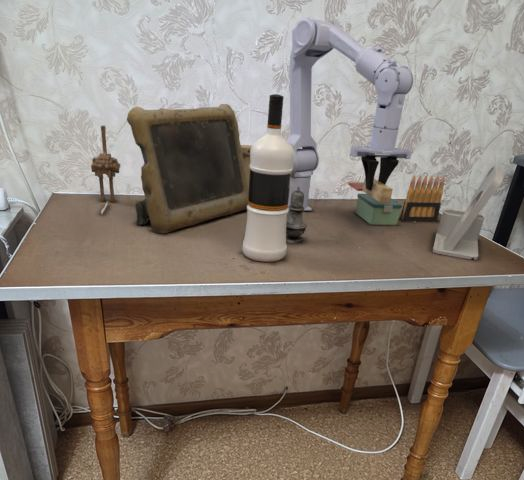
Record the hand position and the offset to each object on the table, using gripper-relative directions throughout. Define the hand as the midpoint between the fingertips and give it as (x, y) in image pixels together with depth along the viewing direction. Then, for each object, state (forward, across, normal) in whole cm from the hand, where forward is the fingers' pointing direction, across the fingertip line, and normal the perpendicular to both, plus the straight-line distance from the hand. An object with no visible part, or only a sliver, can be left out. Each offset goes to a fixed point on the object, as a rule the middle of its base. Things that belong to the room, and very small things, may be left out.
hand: (374, 189), depth 116 cm
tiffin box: (+10, +8, +11) cm, 17 cm away
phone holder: (+11, +19, -11) cm, 24 cm away
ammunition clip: (+11, +20, +10) cm, 25 cm away
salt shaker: (+11, -21, -7) cm, 24 cm away
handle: (+11, -27, +24) cm, 38 cm away
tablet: (+11, -42, +10) cm, 45 cm away
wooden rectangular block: (+1, 0, +2) cm, 2 cm away
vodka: (+11, -30, -17) cm, 36 cm away
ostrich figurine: (+11, -64, +19) cm, 68 cm away
